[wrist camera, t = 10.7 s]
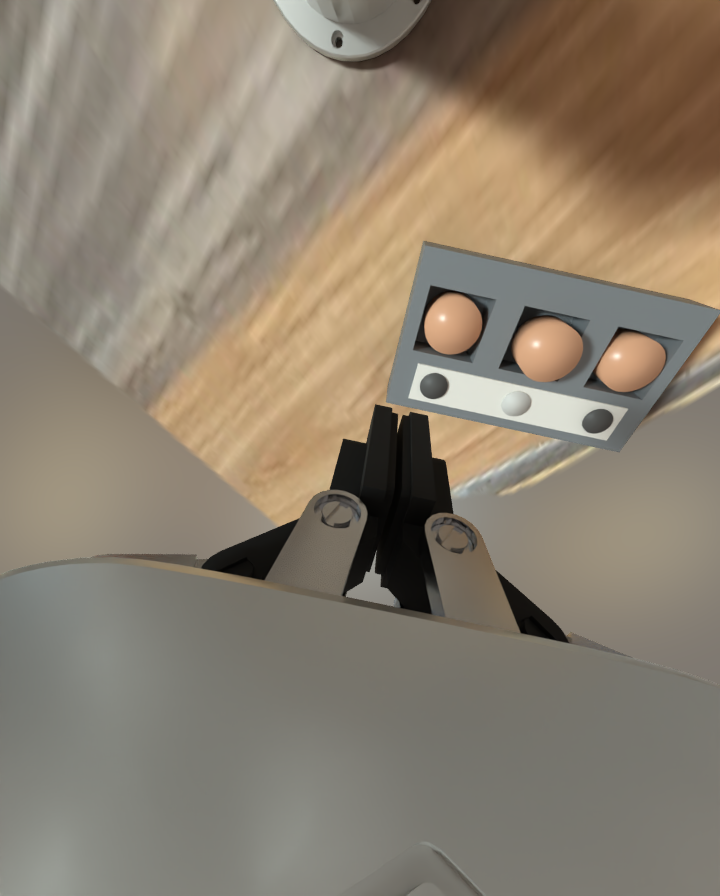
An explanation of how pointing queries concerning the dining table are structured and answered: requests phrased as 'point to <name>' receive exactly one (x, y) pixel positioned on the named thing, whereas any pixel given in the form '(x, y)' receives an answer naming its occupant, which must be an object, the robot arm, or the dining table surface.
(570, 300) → the button board
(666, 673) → the robot arm
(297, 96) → the dining table surface
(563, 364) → the button
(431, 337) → the button
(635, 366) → the button
